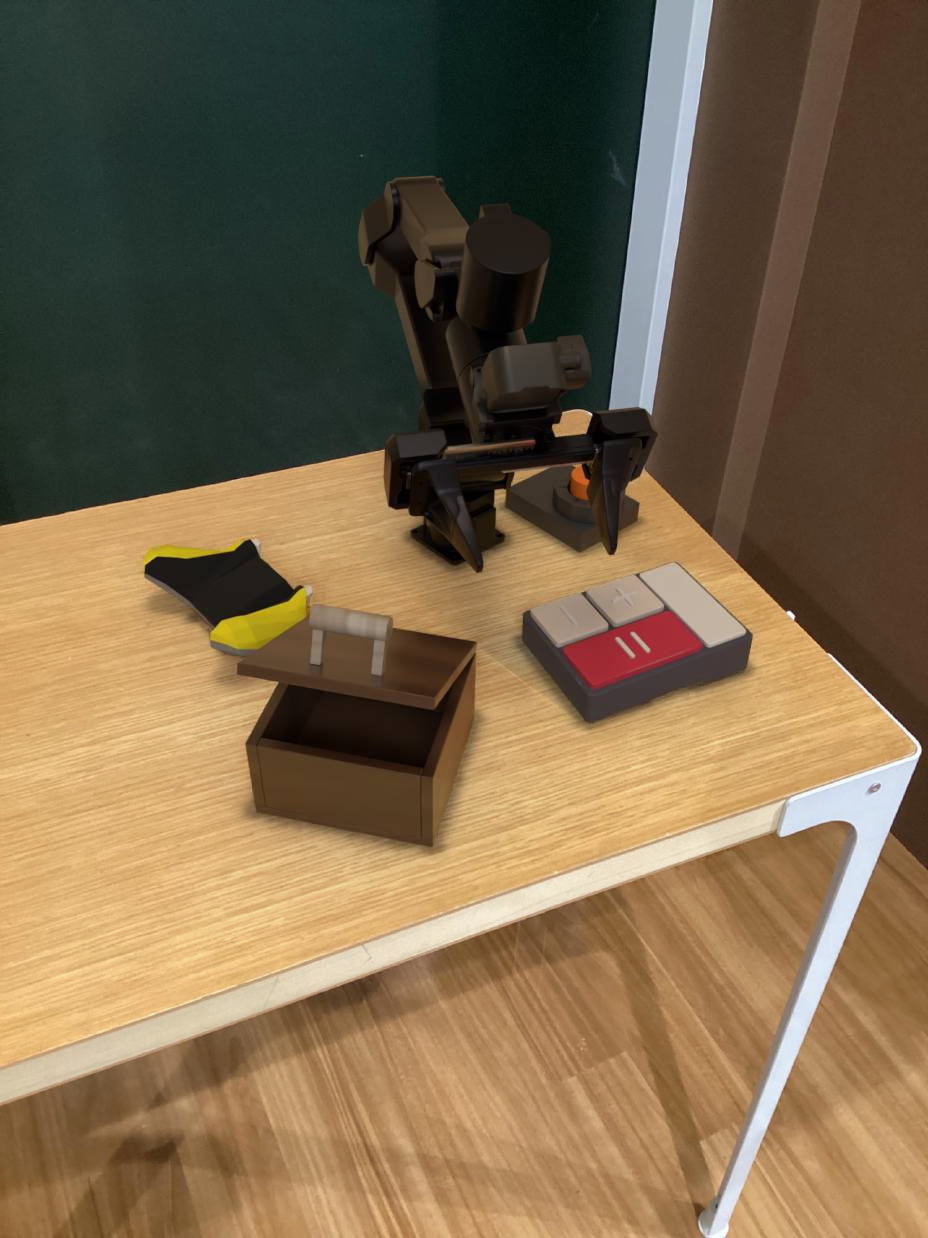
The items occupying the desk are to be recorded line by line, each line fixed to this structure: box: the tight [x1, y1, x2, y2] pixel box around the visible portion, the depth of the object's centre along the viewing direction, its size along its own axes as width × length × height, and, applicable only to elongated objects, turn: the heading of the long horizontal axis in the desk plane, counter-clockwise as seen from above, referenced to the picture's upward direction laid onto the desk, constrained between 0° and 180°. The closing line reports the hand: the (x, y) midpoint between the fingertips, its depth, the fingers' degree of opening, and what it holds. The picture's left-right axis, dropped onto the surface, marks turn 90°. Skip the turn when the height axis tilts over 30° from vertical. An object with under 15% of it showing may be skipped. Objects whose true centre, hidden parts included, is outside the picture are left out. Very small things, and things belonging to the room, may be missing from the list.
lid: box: [236, 603, 478, 710], centre depth 71 cm, size 13×13×5 cm
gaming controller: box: [142, 537, 313, 658], centre depth 88 cm, size 15×6×10 cm
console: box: [504, 465, 641, 553], centre depth 101 cm, size 10×8×4 cm
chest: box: [244, 651, 477, 848], centre depth 75 cm, size 13×13×7 cm
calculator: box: [521, 561, 754, 723], centre depth 86 cm, size 11×4×15 cm
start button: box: [570, 465, 589, 500], centre depth 99 cm, size 4×4×2 cm
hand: (547, 560), depth 71 cm, fingers open, 9 cm apart
